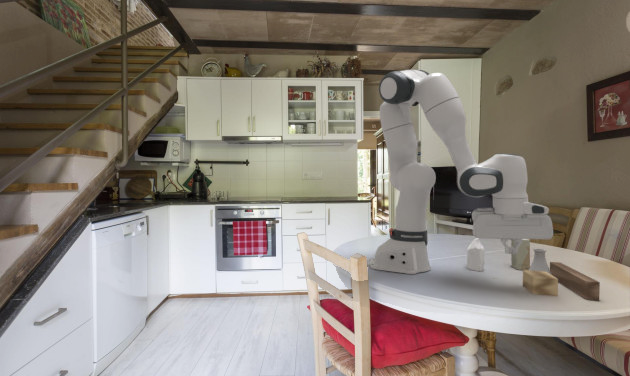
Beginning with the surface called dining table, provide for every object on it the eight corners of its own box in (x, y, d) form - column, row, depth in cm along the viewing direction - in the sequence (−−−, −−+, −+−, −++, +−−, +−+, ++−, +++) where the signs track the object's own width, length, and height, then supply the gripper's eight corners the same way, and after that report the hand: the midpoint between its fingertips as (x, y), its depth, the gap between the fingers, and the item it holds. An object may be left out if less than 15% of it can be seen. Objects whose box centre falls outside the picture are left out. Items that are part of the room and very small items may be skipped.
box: (530, 270, 106) (530, 240, 106) (517, 269, 107) (517, 239, 107) (523, 266, 111) (523, 237, 111) (510, 265, 112) (510, 236, 112)
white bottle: (464, 234, 112) (480, 235, 111) (464, 266, 112) (480, 266, 111) (471, 237, 106) (487, 238, 105) (470, 270, 106) (487, 271, 105)
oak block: (532, 294, 84) (533, 277, 84) (522, 286, 91) (523, 270, 91) (557, 296, 83) (558, 278, 82) (545, 287, 89) (545, 271, 89)
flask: (559, 282, 94) (559, 251, 94) (542, 284, 92) (543, 252, 91) (536, 275, 101) (536, 246, 100) (520, 277, 99) (520, 247, 98)
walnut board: (585, 299, 80) (586, 281, 80) (549, 276, 99) (549, 261, 99) (599, 300, 79) (599, 282, 79) (560, 277, 98) (560, 262, 98)
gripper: (473, 209, 88) (475, 254, 88) (555, 207, 82) (556, 257, 82) (469, 207, 94) (470, 249, 94) (545, 205, 88) (546, 251, 88)
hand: (511, 253), depth 88 cm, fingers closed
